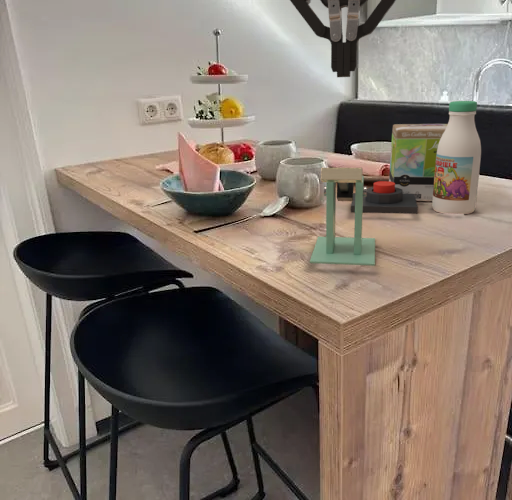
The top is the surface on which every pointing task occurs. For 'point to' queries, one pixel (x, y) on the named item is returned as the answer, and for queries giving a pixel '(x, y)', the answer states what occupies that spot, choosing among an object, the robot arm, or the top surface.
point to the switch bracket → (344, 247)
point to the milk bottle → (458, 162)
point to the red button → (384, 187)
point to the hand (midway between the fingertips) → (343, 76)
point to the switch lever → (343, 180)
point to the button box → (387, 202)
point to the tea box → (415, 158)
